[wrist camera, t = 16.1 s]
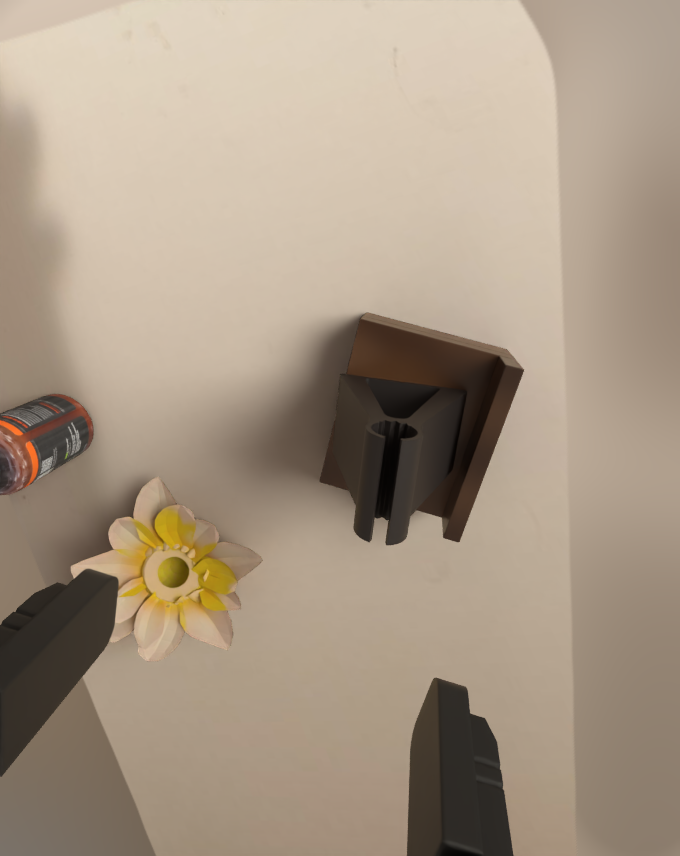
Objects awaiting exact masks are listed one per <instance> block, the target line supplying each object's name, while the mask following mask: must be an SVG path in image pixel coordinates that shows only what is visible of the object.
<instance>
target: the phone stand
mask: <svg viewBox="0 0 680 856" xmlns="http://www.w3.org/2000/svg"><path fill="white" fill-rule="evenodd" d="M466 396H467V391H466V390H462V389H455V388H447V387H440V386H432V385H425V384H417V383H409V382H400V381H394V380H387V379H379V378H372V377H364V376H356V375H349V374H340V379H339V389H338V399H337V409H336V420H335V430H334V440H333V450H332V452H333V455H334V457H335V459H336V461H337V464H338V466H339V468H340V471H341V473H342V475H343V477H344V480H345V482H346V484H347V487H348V489H349V491H350V493H351V496H352V498H353V500H354V503H355V505H356V511H355V519H354V531H355V533H356V534H357V535H358V536H359V537H360V538H362V539H363V540H365V541H367V542H370V541H371V540H372V533H373V525H374V518H381V517H383V518H385V519H386V520H389V521H388V528H387V535H386V545H394V544H398V543H401V542H402V541H404V540H405V539H406V537H407V533H408V527H409V520H410V516H411V515H412V514H413V513H414V512H415V511H416V509H417V508H418V507H419V506H420V505H421V504H422V503H423V502H424V501H425V500H426V499H427V497H428V496H429V495H430V494H431V493H432V492H433V491H434V490H435V489H436V488H437V487H438V485H439V484H440V483H441V482H442V481H443V480H444V479H445V478H446V477H447V476H448V475H449V474H450V472H451V471H452V470H453V466H454V460H455V455H456V450H457V444H458V439H459V434H460V428H461V423H462V418H463V412H464V407H465V401H466Z"/></svg>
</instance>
